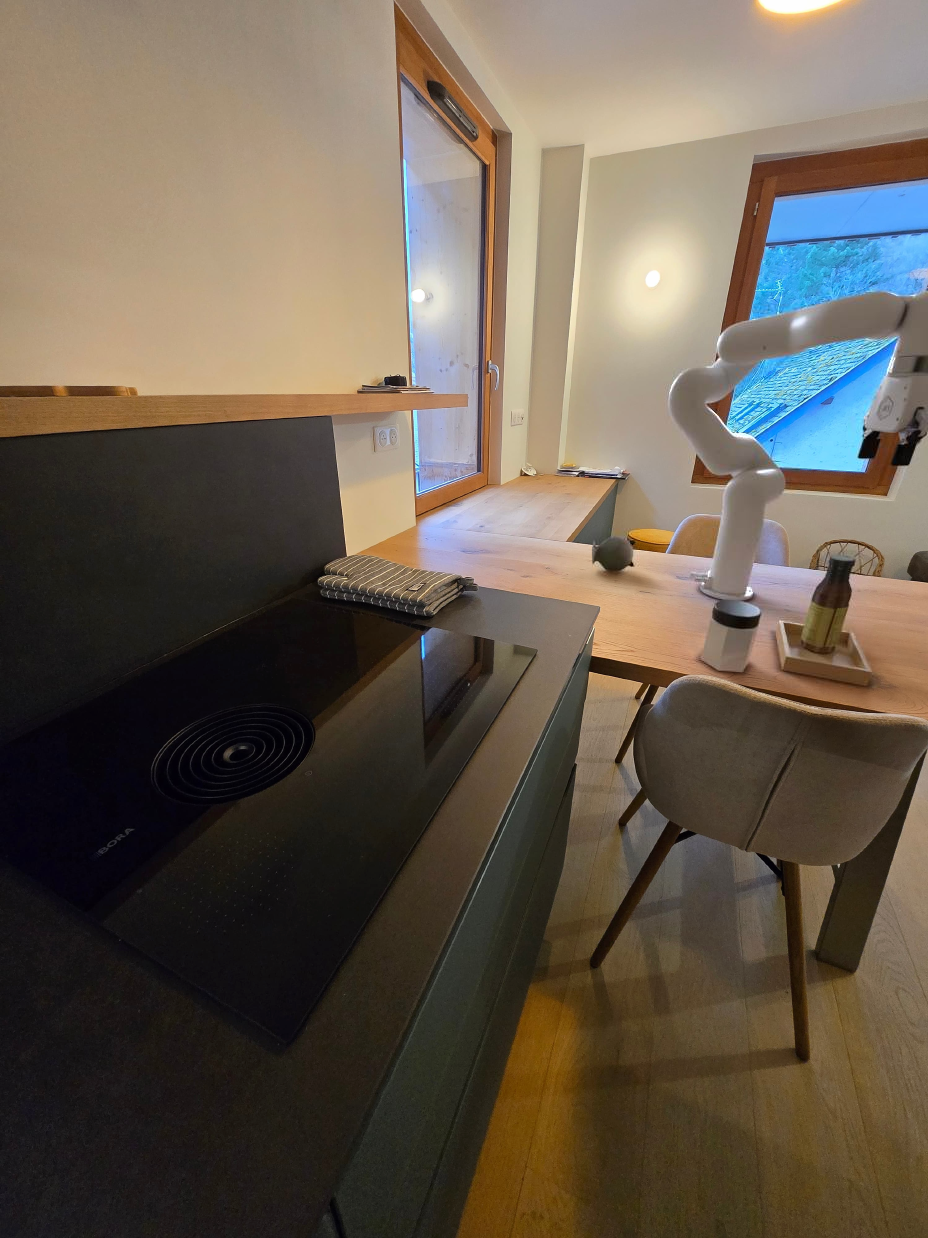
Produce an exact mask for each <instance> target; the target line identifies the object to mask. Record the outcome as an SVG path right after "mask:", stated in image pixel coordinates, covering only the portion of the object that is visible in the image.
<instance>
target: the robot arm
mask: <svg viewBox="0 0 928 1238" xmlns="http://www.w3.org/2000/svg"><path fill="white" fill-rule="evenodd" d="M893 338H897V341H896V344H895V346H894V350H893V354H892V355H891V356H892V357H891V360H890V363H889V366H888V368H887V372H886V375H885V376H883V379H881V381H880V384H879V386H878V388H877V390H876V393H875V394H874V397H873V399H872V401H871V405H870V407H869V409H868V412H867V413H865V414H864V416H863V425H862V432H863V433H862V435H861V437H862V442H861V446H860V448H859V451H858V453H857V459H860V460H868V459H869V460H873V459H875V458H876V455H877V452H878V449H879V447H880V443H881V441H882V438H880V437H881V436H882V435H883V433H891V434H892V433H893V434H894V433H898V437H899V441H900V443H896V446H895V448H894V452H893V455H892V457H891V461H890V464H889V465H890V466H893V467H908V466H909V465H910V464H911V462H912V458H913V456H914V454H915V450H916V448H917V446H918V445H919V444H921V442H922V439H923V438H925V437H926V436H927V435H928V289H927V290H923V291H920V292H918V293H916V294H914V295H900V294H896V293H894V292H891V291H886V290H877V291H876V290H875V291H870V292H864V293H860V294H855V295H850V296H846V297H841V298H837V299H832V300H828V301H823V302H822V303H821V302H820V303H818V304H814V305H811V306H806V307H803V308H799V309H795V310H790V311H787V312H781V313H778V314H777V313H776V314H772V315H768V316H763V317H759V318H754V319H749V320H743V321H741V322H737V323H734V324H732V325H730V326H728V327H726V328H725V329H724V330H723V332H721V334H720V336H719V337H718V339H717V343H716V353H717V356H718V358H717V360H716V361H714V363H713V364H712V365H710V366H706V365H705V366H703V365H702V366H701V365H699V366H694V367H693V366H692V367H690V368H687V369H685V370H683V371H682V372H680V373H679V374H678V375H677V377H676V378H675V379H674V380H673V382H672V385H671V386H670V389H669V393H668V399H667V407H668V413H669V416H670V418H671V420H672V422H673V424H674V425H675V427H676V428H677V430H678V431H679V432H680V433H681V435H682V436H683V437H684V438H685V440H686V441H687V442H688V445H690V447H691V449H692V450H693V451H694V452H695V454H696V455H697V457H698V458H699V459H700V461H701V462H702V463H703V465H704V466H705V467H706V469H707V470H708V471H709V472H710V473H711V474H714V475H715V476H727V475H731V477H732V478H731V479H730V480H729V481H728V483H727V484H726V486H725V488H724V491H723V495H722V507H721V508H722V509H721V517H720V523H719V528H718V532H717V537H716V541H715V547H714V552H713V555H712V561H711V565H710V569H709V570H707V572H703V573H698V572H694V571H691V572H690V577H689V579H690V580H694V583H700V586H699V589H700V591H701V592H702V593H703V594H705V595H707V596H709V597H711V598H715V599H719V600H737V601H742V602H743V601H747V600H749V599H751V598H752V597H753V594H754V591H753V589H752V588H751V587H749V583H750V578H751V575H752V571H753V567H754V564H755V560H756V555H757V551H758V548H759V544H760V540H761V536H762V531H763V528H764V522H765V521H764V520H765V511H766V510H765V509H766V505H770V504H771V503H773V502H775V501H777V500H778V499H779V498H780V497H781V496H782V495H783V493H784V491H785V488H786V478H785V475H784V473H783V471H782V470H781V468H780V467H779V466H778V464H777V463H776V462H775V461H774V459H773V458H772V457H771V456H770V454H769V453H768V452H767V450H766V449H765V448H764V447H763V446H762V444H761V443H760V442H759V441H758V440H757V439H756V438H755V437H753V436H752V435H750V434H747V433H740V432H738V433H733V432H732V431H731V430H730V429H729V428H728V427H727V426H726V425H725V423H724V422H723V421H722V419H721V418H720V417H719V416H718V414H716V412H714V411H713V410H712V409H711V408H710V407H709V406H708V405H707V404H712V403H716V402H719V401H720V400H722V399H724V398H725V397H726V396H728V395H729V394H730V393H731V392H732V391H733V390H734V389H735V388H736V387H737V386H739V384H740V383H741V382H742V381H743V380H744V379H745V378H746V377H747V376H748V375H749V374H750V373H751V372H752V371H754V369H755V368H756V367H757V366H758V365H759V364H760V363H761V362H762V361H765V360H771V359H776V358H783V357H784V358H785V357H792V356H795V355H799V354H801V353H803V352H804V351H806V350H808V349H811V348H815V347H820V346H824V345H830V344H836V343H842V342H849V341H856V340H869V341H882V340H883V341H884V340H888V339H893ZM908 434H909V435H908Z"/></svg>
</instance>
